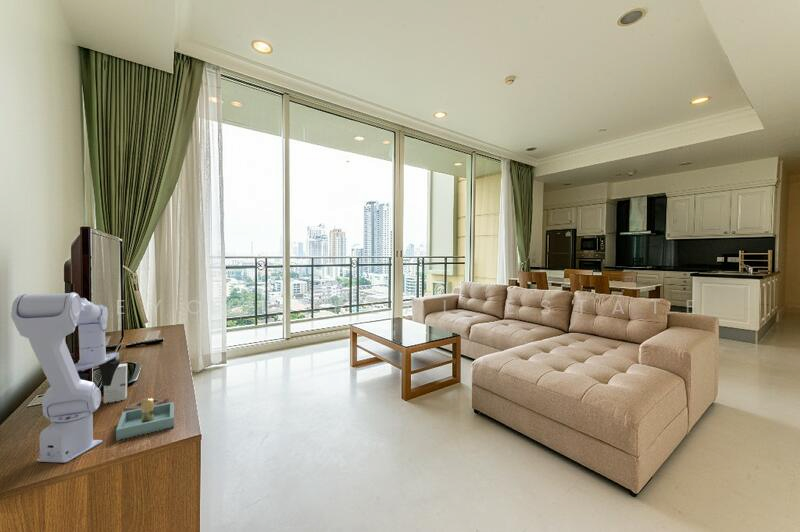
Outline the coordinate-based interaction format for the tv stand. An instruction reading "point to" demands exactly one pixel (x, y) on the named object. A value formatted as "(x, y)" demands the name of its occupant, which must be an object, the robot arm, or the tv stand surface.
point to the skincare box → (117, 385)
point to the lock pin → (147, 409)
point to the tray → (134, 426)
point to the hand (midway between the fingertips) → (94, 390)
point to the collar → (138, 404)
